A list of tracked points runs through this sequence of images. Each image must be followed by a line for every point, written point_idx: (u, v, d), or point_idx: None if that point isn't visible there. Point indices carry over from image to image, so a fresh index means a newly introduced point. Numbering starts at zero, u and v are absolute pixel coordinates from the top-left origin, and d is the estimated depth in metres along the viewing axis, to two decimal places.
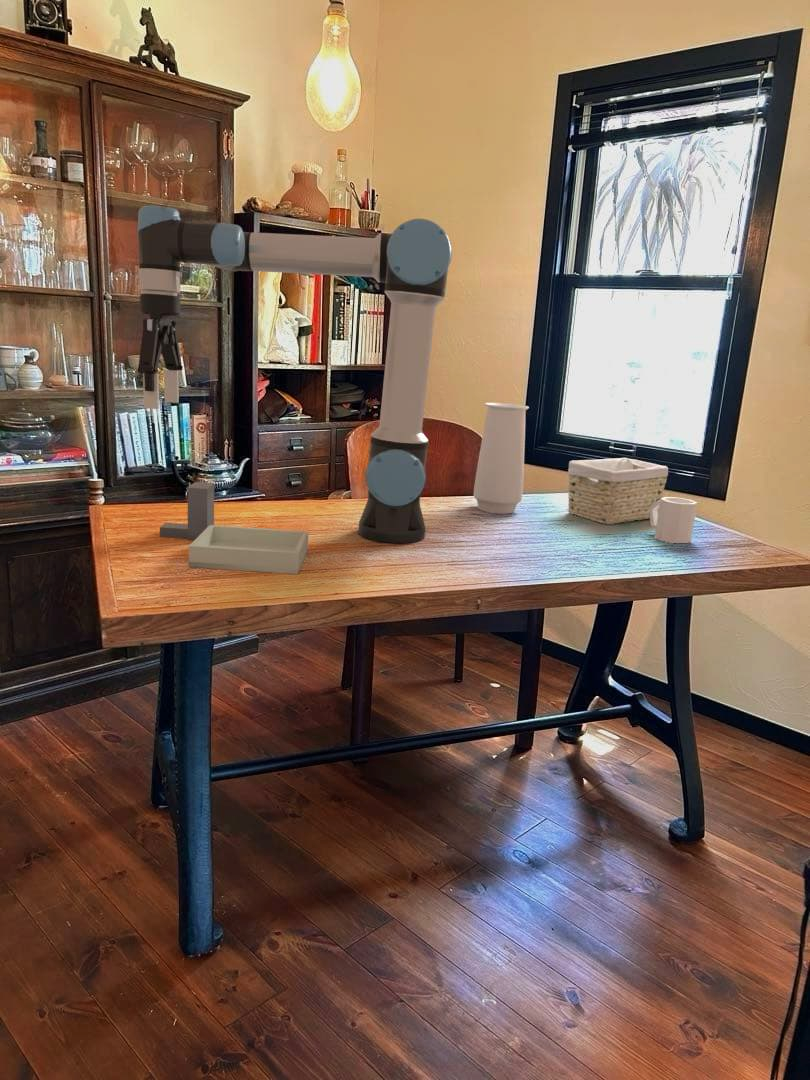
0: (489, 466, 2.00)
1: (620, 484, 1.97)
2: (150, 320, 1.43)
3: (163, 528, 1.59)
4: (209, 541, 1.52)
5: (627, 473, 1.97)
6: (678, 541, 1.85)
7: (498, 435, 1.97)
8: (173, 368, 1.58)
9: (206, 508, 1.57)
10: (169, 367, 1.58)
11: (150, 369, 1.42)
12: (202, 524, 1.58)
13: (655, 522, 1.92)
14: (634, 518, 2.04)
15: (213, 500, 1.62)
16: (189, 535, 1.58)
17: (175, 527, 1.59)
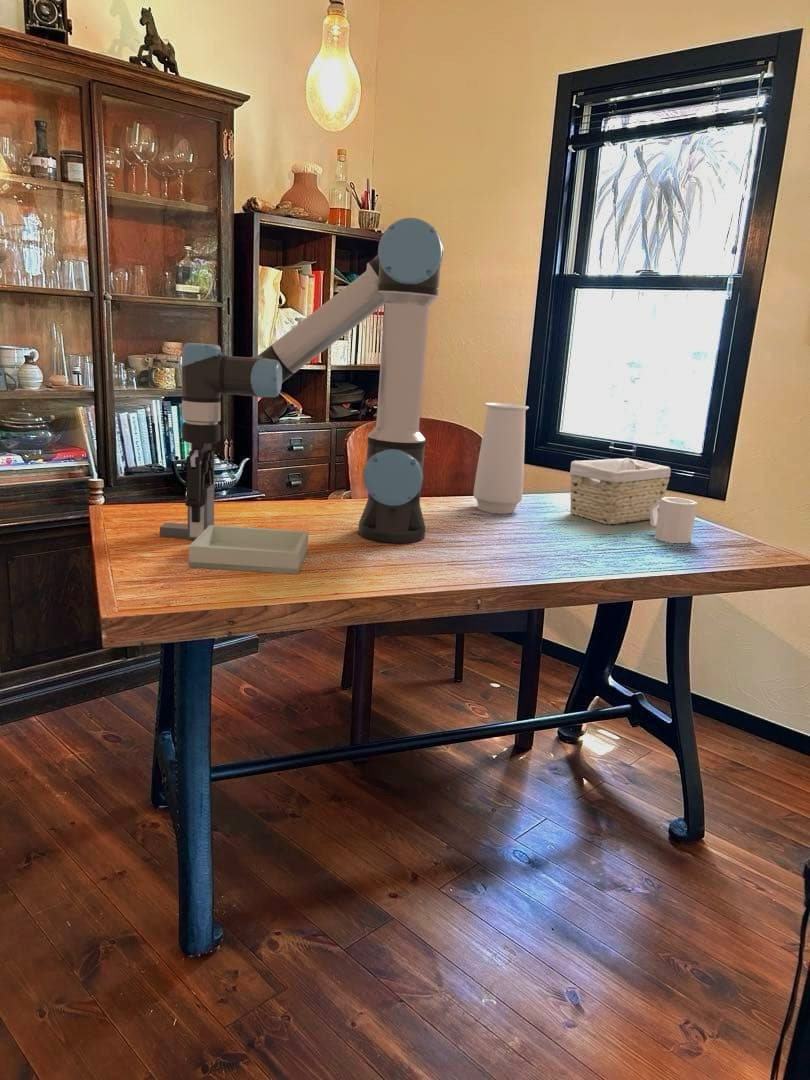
0: (489, 466, 2.00)
1: (622, 484, 1.97)
2: (193, 458, 1.51)
3: (163, 528, 1.59)
4: (209, 541, 1.52)
5: (629, 474, 1.97)
6: (678, 541, 1.85)
7: (498, 435, 1.97)
8: None
9: (206, 508, 1.57)
10: None
11: (197, 504, 1.53)
12: None
13: (655, 522, 1.92)
14: (636, 518, 2.04)
15: (213, 500, 1.62)
16: (189, 535, 1.58)
17: (175, 527, 1.59)
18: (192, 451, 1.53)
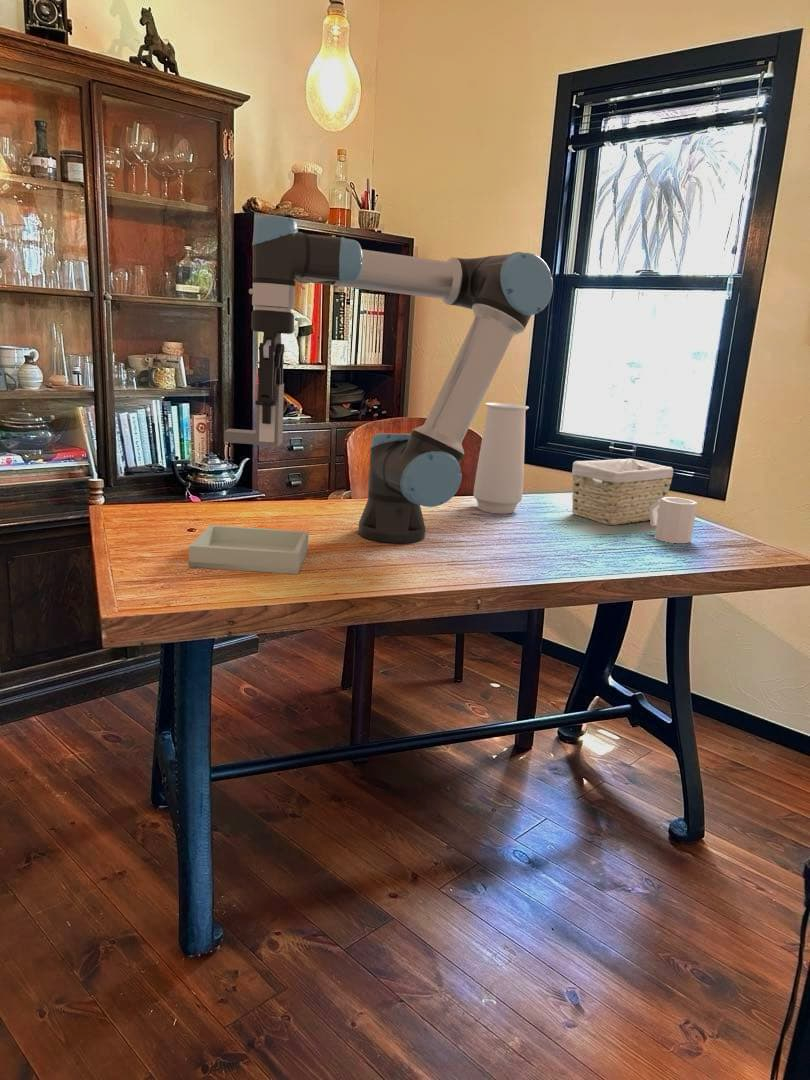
0: (489, 466, 2.00)
1: (624, 485, 1.97)
2: (266, 347, 1.33)
3: (228, 432, 1.41)
4: (209, 541, 1.52)
5: (631, 474, 1.96)
6: (678, 541, 1.85)
7: (498, 435, 1.97)
8: None
9: (277, 408, 1.39)
10: None
11: (270, 401, 1.35)
12: None
13: (655, 522, 1.92)
14: (638, 519, 2.03)
15: (283, 403, 1.44)
16: (257, 440, 1.40)
17: (241, 432, 1.41)
18: (264, 341, 1.35)
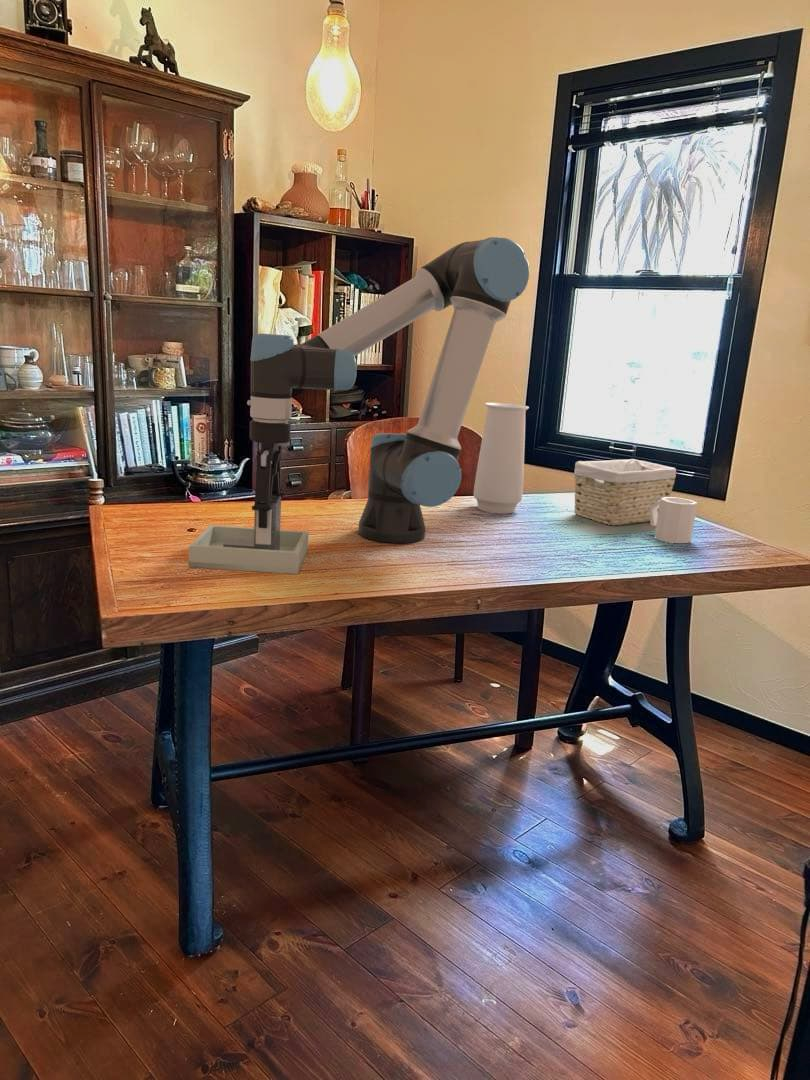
0: (489, 466, 2.00)
1: (625, 485, 1.96)
2: (264, 456, 1.37)
3: (227, 545, 1.47)
4: (209, 541, 1.52)
5: (633, 475, 1.96)
6: (678, 541, 1.85)
7: (498, 435, 1.97)
8: (274, 495, 1.51)
9: (274, 524, 1.45)
10: None
11: (266, 508, 1.38)
12: None
13: (655, 522, 1.92)
14: (640, 520, 2.03)
15: (280, 515, 1.50)
16: None
17: (239, 544, 1.47)
18: (262, 451, 1.40)
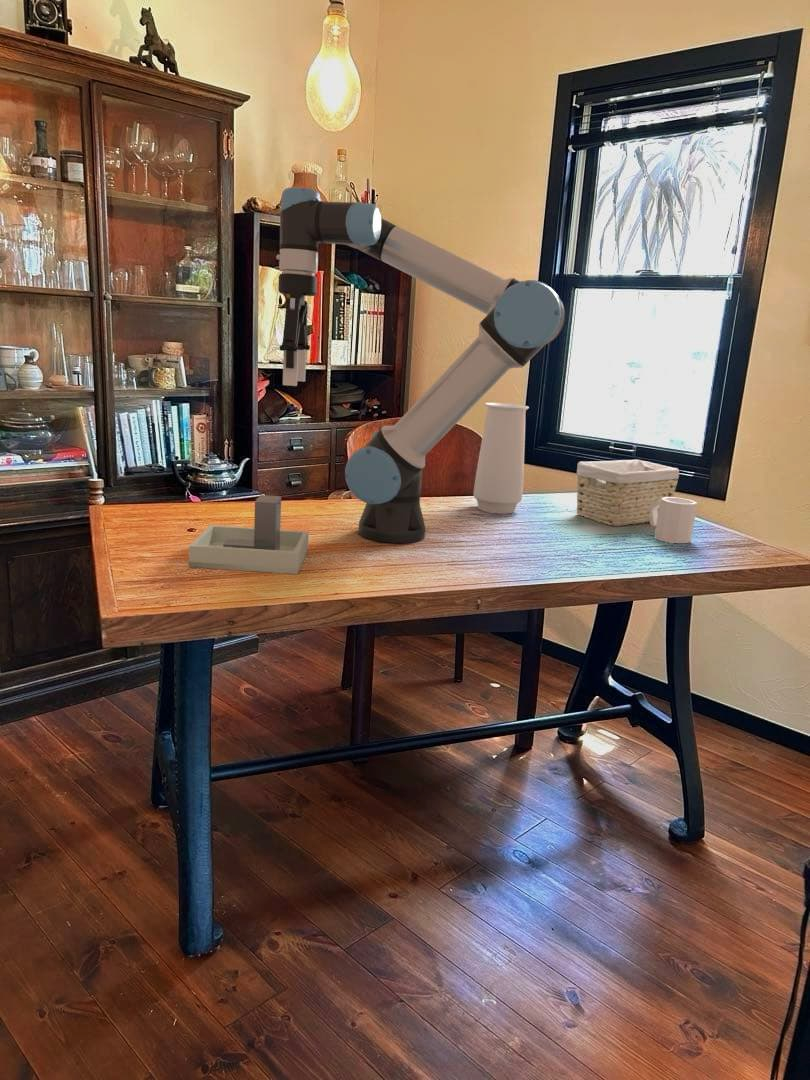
0: (489, 466, 2.00)
1: (628, 486, 1.96)
2: (293, 299, 1.47)
3: (227, 545, 1.47)
4: (209, 541, 1.52)
5: (635, 475, 1.95)
6: (678, 541, 1.85)
7: (498, 435, 1.97)
8: (301, 348, 1.62)
9: (274, 524, 1.45)
10: (297, 347, 1.62)
11: (293, 346, 1.46)
12: (270, 541, 1.45)
13: (655, 522, 1.92)
14: (643, 520, 2.02)
15: (280, 515, 1.50)
16: None
17: (239, 544, 1.47)
18: None
